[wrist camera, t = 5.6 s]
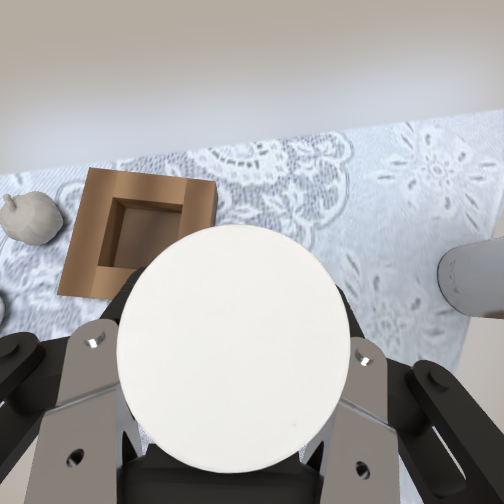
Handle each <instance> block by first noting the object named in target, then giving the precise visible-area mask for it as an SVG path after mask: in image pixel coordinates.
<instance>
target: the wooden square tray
mask: <svg viewBox="0 0 504 504" xmlns="http://www.w3.org/2000/svg"><path fill="white" fill-rule="evenodd" d="M217 202H218V193H217V187H216V182H215V181H208V180H199V179H190V178H181V177H172V176H163V175H154V174H145V173H136V172H126V171H117V170H108V169H99V168H90V167H89V171H88V174H87V178H86V182H85V186H84V190H83V194H82V198H81V202H80V206H79V210H78V213H77V217H76V221H75V225H74V229H73V233H72V237H71V241H70V245H69V249H68V252H67V256H66V260H65V264H64V268H63V272H62V276H61V280H60V284H59V288H58V291H57V295H62V296H74V297H86V298H98V299H110V300H113V299H114V297H115V296H116V295H117V293H118V292H119V291H120V289H121V288H122V286H123V285H124V284H125V283H126V281H127V279H128V278H129V277H130V275H131V274H132V273H133V272H135V271H136V270H138V269H139V268H141V267H148V266H149V264H150V263H151V261H152V260H153V258H154V257H157V256H158V255H160V254H161V253H162V252H163V251H164V250H165V249H167V248H168V247H169V246H171V245H172V244H174V243H175V242H177V241H179V240H181V239H182V238H184V237H186V236H188V235H190V234H193V233H195V232H198V231H200V230H203V229H207V228H211V227H215V219H216V210H217Z"/></svg>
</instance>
